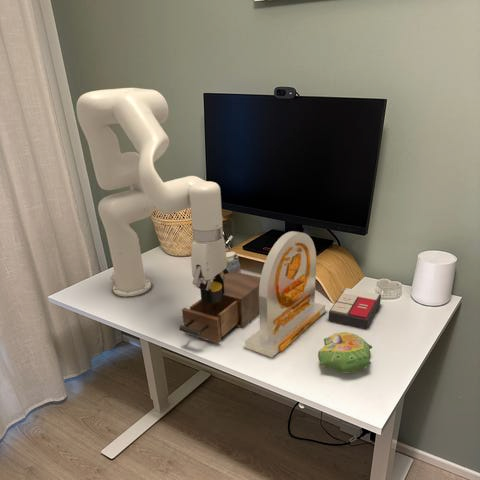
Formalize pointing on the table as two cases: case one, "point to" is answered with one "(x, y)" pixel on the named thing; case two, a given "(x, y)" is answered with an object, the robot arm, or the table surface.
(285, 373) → the table surface
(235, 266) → the beverage can
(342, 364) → the educational model
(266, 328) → the award
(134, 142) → the robot arm
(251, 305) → the cabinet
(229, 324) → the drawer
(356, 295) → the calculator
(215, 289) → the jar
